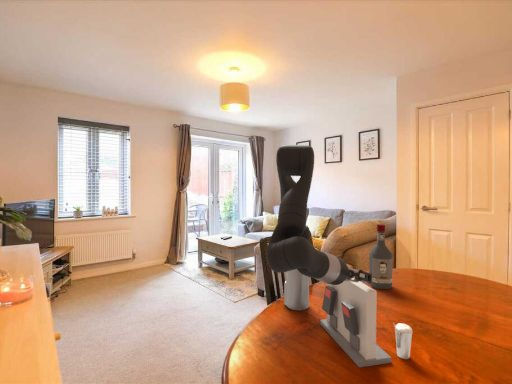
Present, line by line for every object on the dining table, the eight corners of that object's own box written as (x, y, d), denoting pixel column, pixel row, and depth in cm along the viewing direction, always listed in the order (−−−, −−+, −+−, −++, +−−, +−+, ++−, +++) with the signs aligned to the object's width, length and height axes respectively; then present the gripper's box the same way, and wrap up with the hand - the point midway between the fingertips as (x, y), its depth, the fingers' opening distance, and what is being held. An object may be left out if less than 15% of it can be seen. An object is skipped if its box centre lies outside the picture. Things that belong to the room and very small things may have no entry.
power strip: (359, 367, 79) (359, 293, 78) (319, 323, 103) (320, 267, 103) (391, 362, 81) (392, 290, 80) (345, 320, 106) (345, 265, 105)
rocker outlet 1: (328, 314, 95) (332, 290, 95) (321, 308, 100) (325, 285, 100) (332, 315, 95) (337, 291, 95) (326, 308, 100) (329, 286, 100)
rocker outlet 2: (353, 336, 82) (349, 309, 82) (344, 327, 87) (340, 302, 87) (359, 334, 83) (354, 307, 82) (349, 325, 88) (345, 300, 87)
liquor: (368, 282, 146) (368, 223, 145) (387, 283, 145) (387, 223, 144) (373, 288, 137) (373, 226, 136) (393, 289, 136) (394, 226, 135)
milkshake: (388, 352, 86) (389, 319, 86) (405, 351, 87) (406, 318, 86) (397, 361, 82) (398, 326, 81) (415, 360, 82) (416, 325, 82)
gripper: (353, 256, 72) (380, 268, 82) (306, 251, 82) (335, 262, 93) (350, 287, 70) (378, 295, 80) (302, 278, 80) (332, 286, 90)
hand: (355, 278), depth 86 cm, fingers open, 8 cm apart
